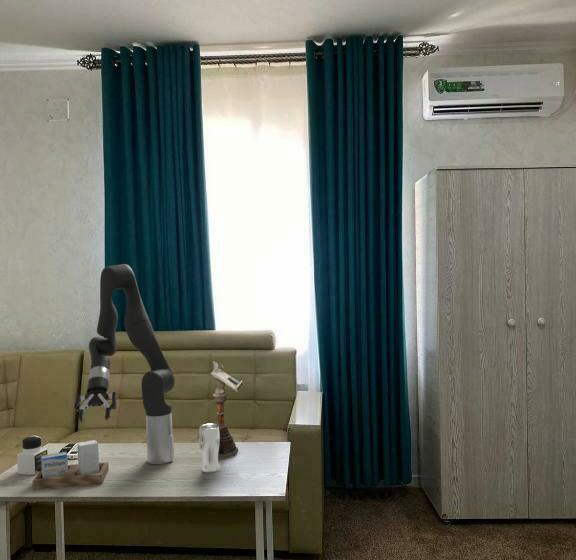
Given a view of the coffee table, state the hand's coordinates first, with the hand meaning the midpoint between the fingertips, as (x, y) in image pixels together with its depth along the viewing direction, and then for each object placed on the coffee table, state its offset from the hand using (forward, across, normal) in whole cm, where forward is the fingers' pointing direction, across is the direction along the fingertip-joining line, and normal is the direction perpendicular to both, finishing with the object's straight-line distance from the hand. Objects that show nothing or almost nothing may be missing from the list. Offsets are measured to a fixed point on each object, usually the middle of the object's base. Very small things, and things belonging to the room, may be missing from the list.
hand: (94, 419), depth 196 cm
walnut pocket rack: (+20, -6, +4) cm, 21 cm away
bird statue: (+10, +48, +14) cm, 51 cm away
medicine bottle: (+11, -22, +13) cm, 27 cm away
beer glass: (+21, +40, +3) cm, 46 cm away
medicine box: (+20, -11, +4) cm, 23 cm away
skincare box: (+20, 0, +4) cm, 20 cm away
